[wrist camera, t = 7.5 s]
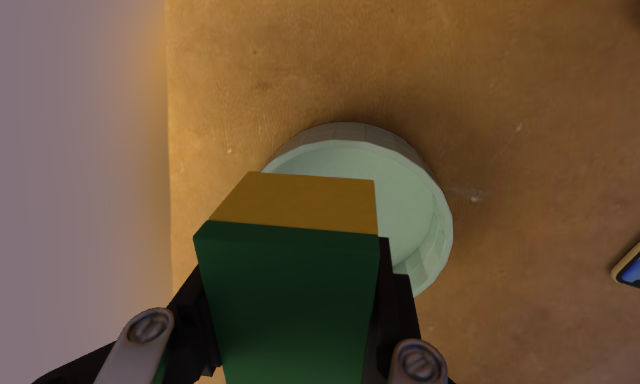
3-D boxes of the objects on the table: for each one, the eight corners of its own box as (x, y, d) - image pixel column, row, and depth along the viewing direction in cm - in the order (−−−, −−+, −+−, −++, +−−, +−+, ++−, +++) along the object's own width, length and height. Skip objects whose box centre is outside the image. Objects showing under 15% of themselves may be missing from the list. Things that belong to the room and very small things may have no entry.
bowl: (263, 267, 33) (249, 303, 29) (251, 115, 25) (227, 132, 21) (419, 284, 32) (428, 325, 27) (459, 127, 24) (481, 148, 19)
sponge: (262, 306, 14) (229, 398, 10) (247, 170, 11) (191, 236, 7) (359, 318, 13) (357, 418, 10) (374, 178, 10) (380, 254, 7)
